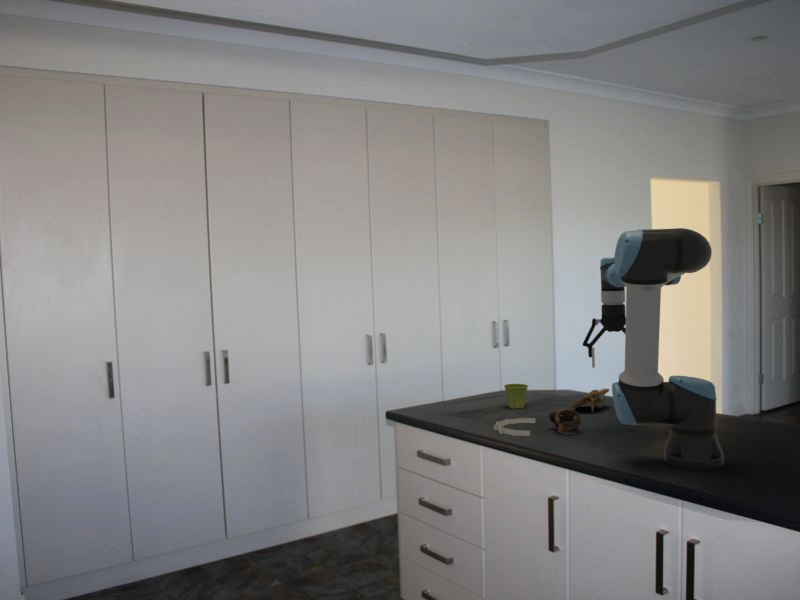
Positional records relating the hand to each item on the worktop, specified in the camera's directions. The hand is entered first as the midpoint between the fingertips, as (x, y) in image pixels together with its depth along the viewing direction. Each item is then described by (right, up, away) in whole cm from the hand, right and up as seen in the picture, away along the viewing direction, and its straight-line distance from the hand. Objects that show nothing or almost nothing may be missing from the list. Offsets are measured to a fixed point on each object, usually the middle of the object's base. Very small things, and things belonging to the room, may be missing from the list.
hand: (614, 367), depth 225 cm
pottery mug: (-16, -22, +1) cm, 28 cm away
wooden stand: (+1, -20, +27) cm, 34 cm away
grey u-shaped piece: (-33, -21, +6) cm, 40 cm away
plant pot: (-26, -20, +39) cm, 51 cm away
